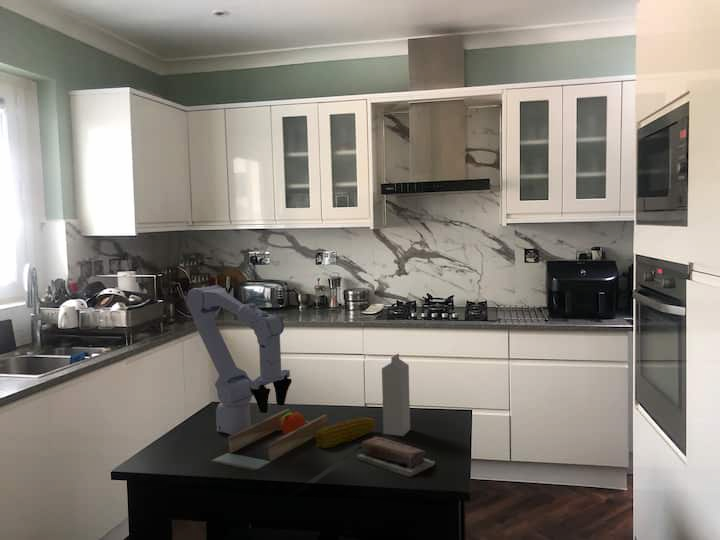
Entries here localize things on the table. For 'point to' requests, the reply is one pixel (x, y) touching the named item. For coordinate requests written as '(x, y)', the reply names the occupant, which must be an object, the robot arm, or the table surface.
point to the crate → (281, 444)
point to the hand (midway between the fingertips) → (272, 408)
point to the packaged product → (394, 456)
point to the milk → (396, 397)
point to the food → (344, 432)
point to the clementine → (291, 422)
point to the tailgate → (240, 461)
